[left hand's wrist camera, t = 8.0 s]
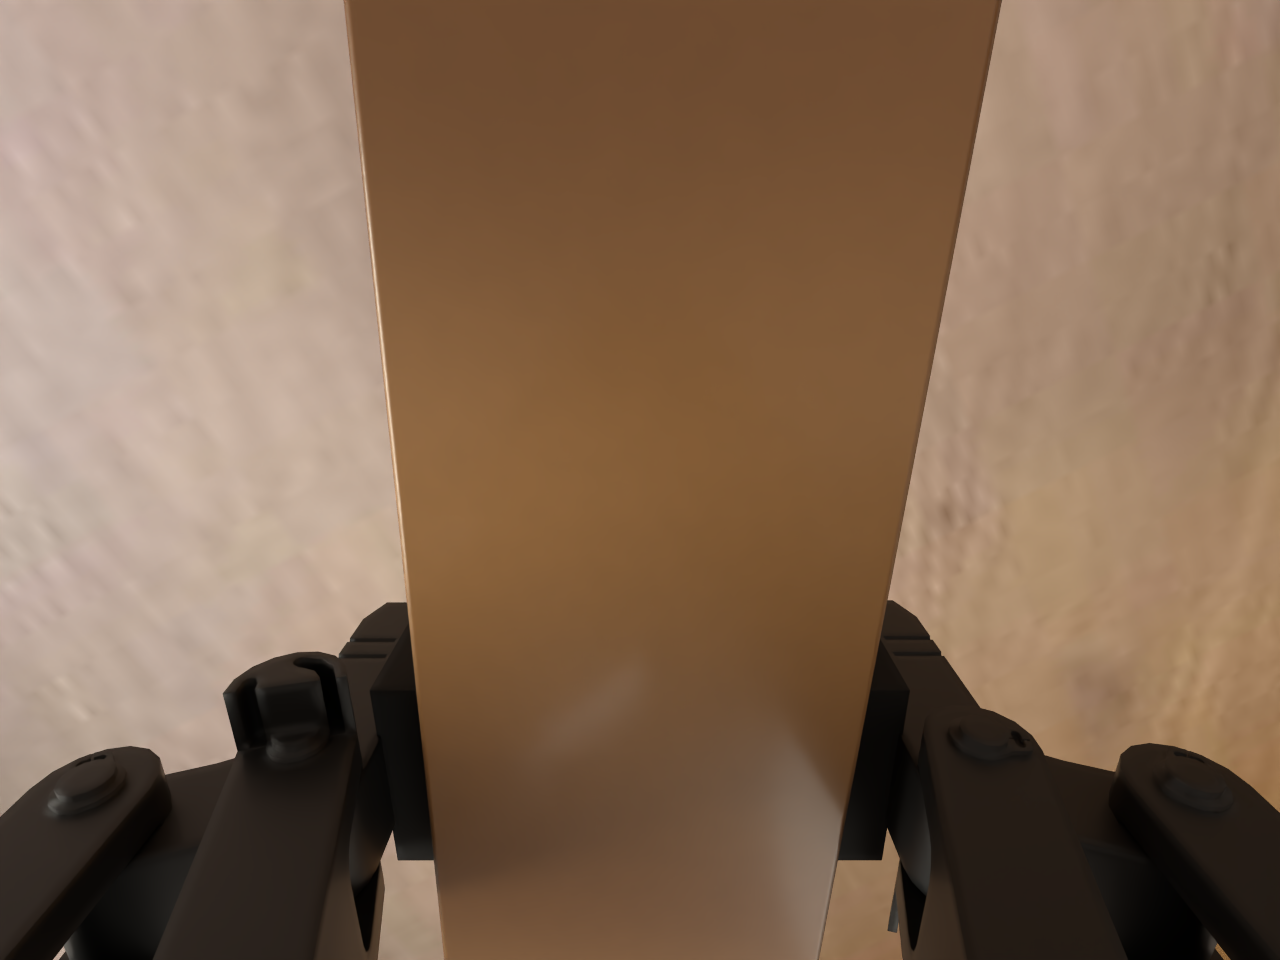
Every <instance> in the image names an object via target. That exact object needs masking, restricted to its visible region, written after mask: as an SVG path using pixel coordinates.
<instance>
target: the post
mask: <svg viewBox="0 0 1280 960" xmlns="http://www.w3.org/2000/svg"><path fill="white" fill-rule="evenodd" d="M1001 2H1002V0H344V7H345V17H346V26H347V36H348V45H349V55H350V64H351V74H352V83H353V93H354V102H355V112H356V121H357V131H358V141H359V150H360V160H361V169H362V179H363V188H364V198H365V207H366V217H367V226H368V236H369V245H370V255H371V264H372V274H373V283H374V293H375V303H376V312H377V322H378V331H379V341H380V350H381V360H382V369H383V379H384V388H385V398H386V407H387V417H388V426H389V436H390V446H391V455H392V465H393V474H394V484H395V493H396V503H397V512H398V522H399V531H400V541H401V550H402V560H403V569H404V579H405V588H406V598H407V608H408V617H409V627H410V636H411V646H412V655H413V665H414V674H415V684H416V693H417V703H418V712H419V722H420V731H421V741H422V750H423V760H424V770H425V779H426V789H427V798H428V808H429V817H430V827H431V836H432V846H433V855H434V865H435V874H436V884H437V893H438V903H439V912H440V922H441V932H442V941H443V951H444V960H819V956H820V950H821V945H822V940H823V935H824V929H825V924H826V919H827V914H828V909H829V903H830V898H831V893H832V888H833V882H834V877H835V872H836V867H837V861H838V856H839V851H840V846H841V840H842V835H843V830H844V825H845V819H846V814H847V809H848V804H849V798H850V793H851V788H852V783H853V778H854V772H855V767H856V762H857V757H858V751H859V746H860V741H861V736H862V730H863V725H864V720H865V715H866V709H867V704H868V699H869V694H870V688H871V683H872V678H873V673H874V667H875V662H876V657H877V652H878V647H879V641H880V636H881V631H882V626H883V620H884V615H885V610H886V605H887V599H888V594H889V589H890V584H891V578H892V573H893V568H894V563H895V557H896V552H897V547H898V542H899V536H900V531H901V526H902V521H903V516H904V510H905V505H906V500H907V495H908V489H909V484H910V479H911V474H912V468H913V463H914V458H915V453H916V447H917V442H918V437H919V432H920V426H921V421H922V416H923V411H924V405H925V400H926V395H927V390H928V385H929V379H930V374H931V369H932V364H933V358H934V353H935V348H936V343H937V337H938V332H939V327H940V322H941V316H942V311H943V306H944V301H945V295H946V290H947V285H948V280H949V274H950V269H951V264H952V259H953V254H954V248H955V243H956V238H957V233H958V227H959V222H960V217H961V212H962V206H963V201H964V196H965V191H966V185H967V180H968V175H969V170H970V164H971V159H972V154H973V149H974V143H975V138H976V133H977V128H978V123H979V117H980V112H981V107H982V102H983V96H984V91H985V86H986V81H987V75H988V70H989V65H990V60H991V54H992V49H993V44H994V39H995V33H996V28H997V23H998V18H999V13H1000V7H1001Z"/></svg>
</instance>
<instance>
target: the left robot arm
mask: <svg viewBox="0 0 1280 960" xmlns="http://www.w3.org/2000/svg"><path fill="white" fill-rule="evenodd" d="M223 696H224V700H225V704H226V708H227V712H228V716H229V720H230V723H231V727H232V731H233V735H234V739H235V743H236V747H237V750H238V752H237V754H236V757H235V758H234V759H231V760H227V761H224V762H220V763H217V764H212V765H208V766H203V767H199V768H194V769H190V770H185V771H181V772H176V773H172V774H167V775H165V774H164V770H163V767H162V764H161V761H160V758H159V757H158V756H157V755H156V754H155V753H153V752H152V751H151V750H150V749H146V748H139V747H133V746H128V747H121V748H113V749H106V750H103V751H100V752H96V753H94V754H90V755H87V756H84V757H82V758H79V759H77V760H75V761H73V762H71V763H69V764H67V765H65V766H63V767H61V768H59V769H57V770H56V771H54V772H52V773H51V774H49V775H48V776H47V777H45V778H44V779H43V780H41V781H40V782H39V783H37V784H36V785H35V786H33V787H32V788H31V789H30V790H28V791H27V792H26V793H25V794H24V795H23V796H22V797H21V798H20V799H19V800H18V801H17V802H16V803H15V804H14V805H12V806H11V807H10V808H9V809H8V810H7V811H6V812H5V813H4V814H3V815H2V816H1V817H0V960H53V959H54V957H55V956H56V955H57V954H58V952H59V951H60V950H61V949H62V947H63V946H64V948H65V953H64V954H63V955H62V957H61V958H60V959H59V960H377V959H378V950H379V940H380V930H381V921H382V911H383V901H384V892H385V886H384V879H383V873H382V867H381V861H380V860H381V857H382V855H383V853H384V850H385V848H386V845H387V843H388V840H389V838H390V835H391V833H392V830H393V834H394V840H395V846H396V852H397V858H398V860H434V855H433V846H432V836H431V827H430V817H429V808H428V798H427V789H426V779H425V770H424V760H423V750H422V741H421V731H420V722H419V712H418V703H417V693H416V684H415V674H414V665H413V655H412V646H411V636H410V627H409V617H408V608H407V603H386V604H384V605H383V606H382V607H380V608H379V609H377V610H376V611H374V612H373V613H371V614H370V615H369V616H367V617H366V618H364V619H363V620H362V622H361V623H360V625H359V626H358V628H357V629H356V630H355V632H354V633H353V635H352V636H351V638H350V642H347V643H346V645H345V646H344V648H343V649H342V651H341V652H340V653H339V658H337V657H336V656H334V655H330V654H326V653H322V652H297V653H293V654H288V655H284V656H280V657H275V658H273V659H270V660H268V661H265V662H263V663H261V664H258V665H256V666H254V667H252V668H250V669H249V670H247V671H246V672H244V673H243V674H242V675H240V676H239V677H237V678H236V679H234V680H233V682H232V683H231V684H230V685H229V687H228V688H227V689H226V690H225V692H224V693H223ZM887 828H888V831H889V833H890V835H891V838H892V840H893V843H894V845H895V848H896V850H897V853H898V855H899V857H900V861H899V867H898V872H897V878H896V884H895V889H894V895H893V900H892V906H891V911H890V917H889V924H888V931H891V932H896V933H897V928H898V923H899V929H900V938H901V948H902V958H903V960H1224V959H1223V958H1222V957H1221V956H1220V954H1219V953H1218V952H1217V951H1216V949H1215V947H1216V944H1217V943H1218V944H1219V945H1220V947H1221V948H1222V949H1223V950H1224V952H1225V953H1226V954H1227V956H1228V957H1229V958H1230V959H1231V960H1280V813H1279V812H1278V811H1277V810H1276V809H1275V808H1274V807H1273V806H1272V805H1271V804H1270V803H1269V802H1267V801H1266V800H1265V799H1264V798H1263V797H1262V796H1261V795H1260V794H1259V793H1258V792H1257V791H1256V790H1255V789H1253V788H1252V787H1251V786H1250V785H1249V784H1247V783H1246V782H1245V781H1243V780H1242V779H1241V778H1239V777H1238V776H1237V775H1236V774H1234V773H1233V772H1232V771H1230V770H1229V769H1227V768H1225V767H1223V766H1221V765H1219V764H1217V763H1216V762H1214V761H1212V760H1210V759H1208V758H1206V757H1204V756H1202V755H1199V754H1197V753H1194V752H1191V751H1187V750H1185V749H1181V748H1178V747H1175V746H1168V745H1160V744H1152V743H1147V744H1141V745H1134V746H1131V747H1129V748H1128V749H1127V750H1126V751H1125V752H1123V753H1122V754H1121V756H1120V759H1119V762H1118V765H1117V768H1116V772H1112V771H1108V770H1103V769H1099V768H1094V767H1090V766H1085V765H1081V764H1076V763H1072V762H1067V761H1063V760H1059V759H1056V758H1052V757H1049V756H1045V755H1044V753H1043V751H1042V749H1041V748H1040V746H1039V745H1038V743H1037V742H1036V741H1035V739H1034V738H1033V736H1032V735H1031V734H1030V733H1028V732H1027V731H1026V730H1024V729H1023V728H1022V727H1021V726H1019V725H1018V724H1017V723H1016V722H1014V721H1012V720H1010V719H1008V718H1006V717H1004V716H1002V715H1000V714H998V713H995V712H993V711H989V710H986V709H982V708H980V707H979V705H978V704H977V702H976V701H975V700H974V698H973V697H972V695H971V694H970V692H969V691H968V690H967V688H966V687H965V685H964V684H963V682H962V681H961V680H960V678H959V677H958V675H957V674H956V672H955V671H954V670H953V668H952V667H951V665H950V664H949V662H948V661H947V660H946V658H945V657H944V656H941V651H940V650H939V648H938V647H937V645H936V644H935V643H934V641H933V640H930V635H929V634H928V633H927V631H926V630H925V628H924V627H923V625H922V624H921V623H920V621H919V620H918V618H917V617H916V616H915V615H913V614H912V613H910V612H909V611H907V610H906V609H904V608H903V607H902V606H900V605H899V604H897V603H896V602H894V601H893V600H887V605H886V610H885V615H884V620H883V626H882V631H881V636H880V641H879V647H878V652H877V657H876V662H875V667H874V673H873V678H872V683H871V688H870V694H869V699H868V704H867V709H866V715H865V720H864V725H863V730H862V736H861V741H860V746H859V751H858V757H857V762H856V767H855V772H854V778H853V783H852V788H851V793H850V798H849V804H848V809H847V814H846V819H845V825H844V830H843V835H842V840H841V846H840V851H839V856H838V860H882V855H883V849H884V843H885V837H886V831H887Z"/></svg>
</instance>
